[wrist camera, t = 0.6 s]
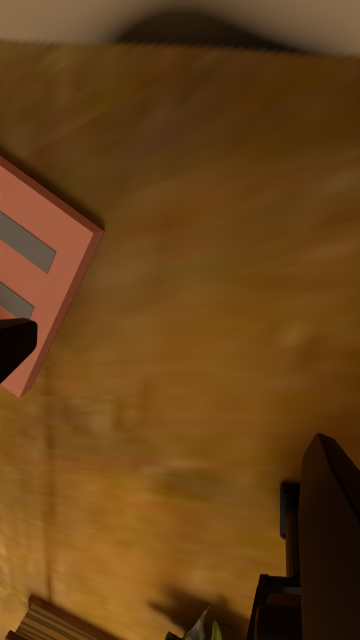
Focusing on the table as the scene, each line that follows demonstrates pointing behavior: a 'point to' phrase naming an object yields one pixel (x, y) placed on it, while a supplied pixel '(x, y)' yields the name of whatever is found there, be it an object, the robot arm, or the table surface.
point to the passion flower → (198, 630)
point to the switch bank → (39, 262)
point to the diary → (52, 625)
